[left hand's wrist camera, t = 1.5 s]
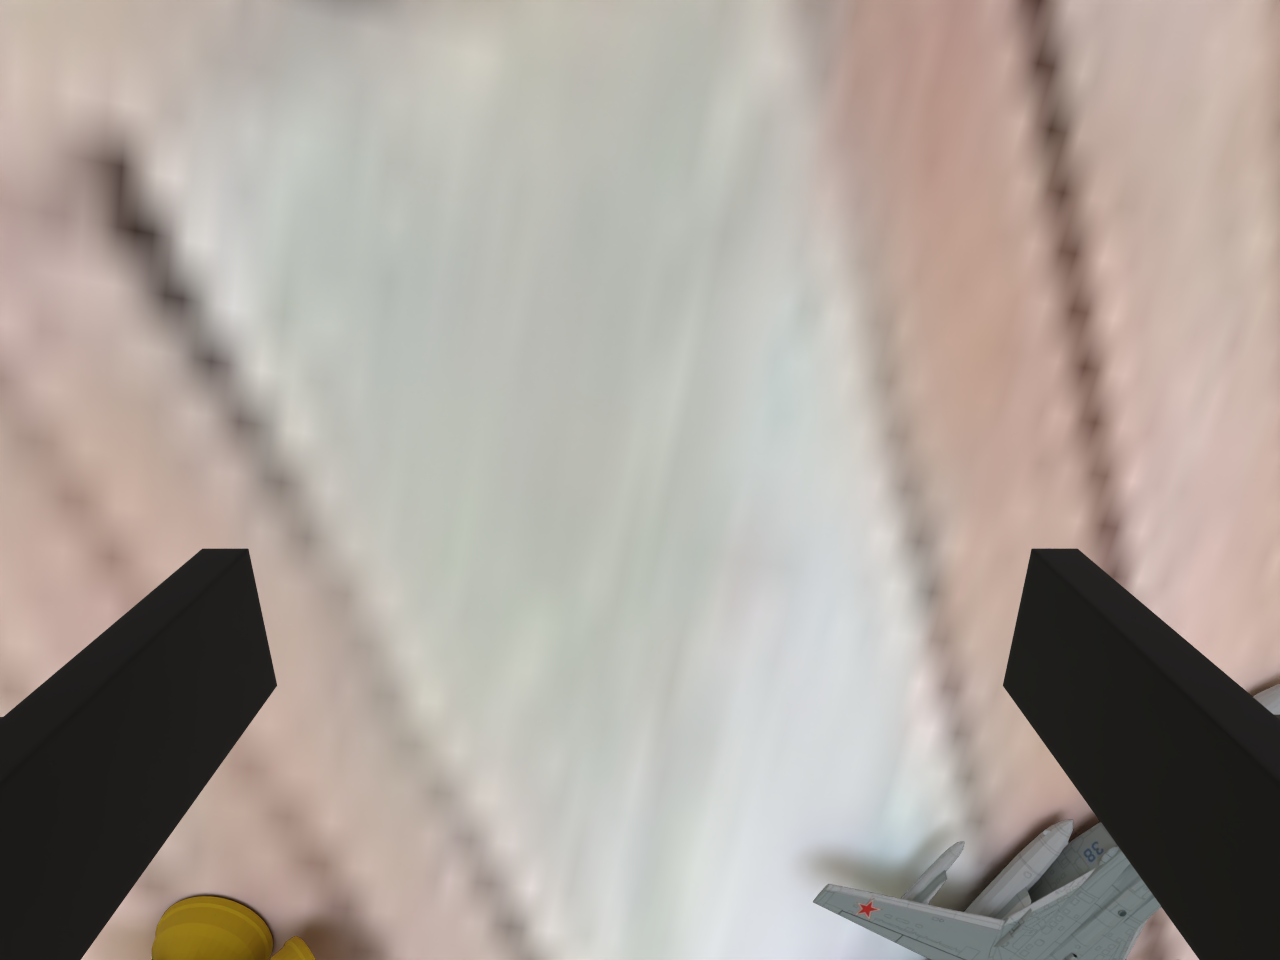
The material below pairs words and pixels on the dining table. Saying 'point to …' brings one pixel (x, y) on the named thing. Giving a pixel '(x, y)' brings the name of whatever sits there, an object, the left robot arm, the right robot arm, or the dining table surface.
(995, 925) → the airplane
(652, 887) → the dining table surface
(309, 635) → the dining table surface
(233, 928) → the ornament
